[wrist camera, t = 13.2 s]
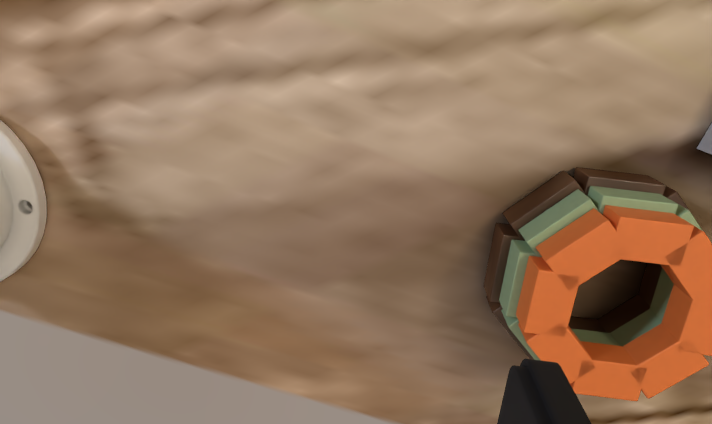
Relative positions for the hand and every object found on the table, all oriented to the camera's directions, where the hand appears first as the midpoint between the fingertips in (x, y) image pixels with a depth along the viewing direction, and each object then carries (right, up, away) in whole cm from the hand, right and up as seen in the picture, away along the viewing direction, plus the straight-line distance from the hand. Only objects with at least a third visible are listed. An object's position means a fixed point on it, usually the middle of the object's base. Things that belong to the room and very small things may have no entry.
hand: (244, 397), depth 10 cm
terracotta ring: (+16, -1, +21) cm, 26 cm away
